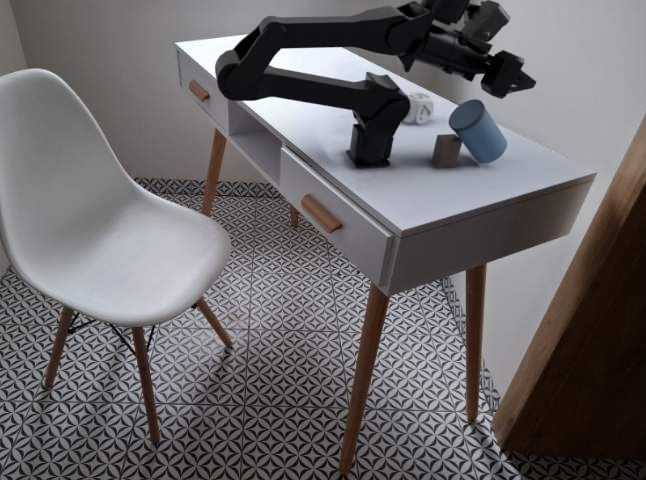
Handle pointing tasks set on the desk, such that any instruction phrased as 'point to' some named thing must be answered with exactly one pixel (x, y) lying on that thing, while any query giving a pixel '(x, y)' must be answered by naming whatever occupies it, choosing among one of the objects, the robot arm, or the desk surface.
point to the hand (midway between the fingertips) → (519, 76)
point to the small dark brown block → (446, 150)
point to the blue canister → (478, 131)
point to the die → (419, 108)
